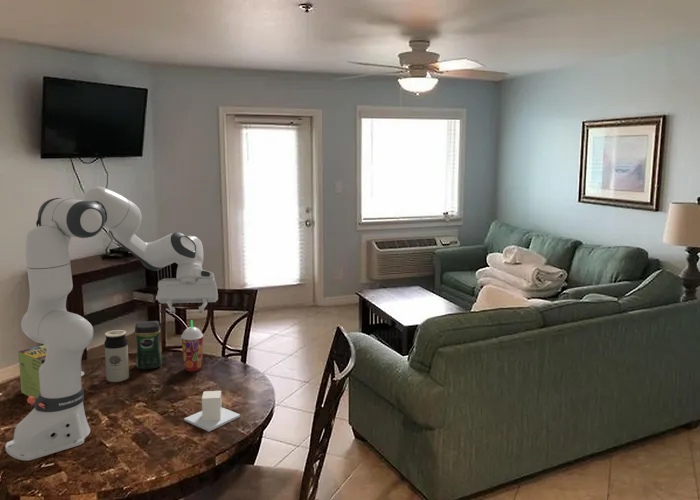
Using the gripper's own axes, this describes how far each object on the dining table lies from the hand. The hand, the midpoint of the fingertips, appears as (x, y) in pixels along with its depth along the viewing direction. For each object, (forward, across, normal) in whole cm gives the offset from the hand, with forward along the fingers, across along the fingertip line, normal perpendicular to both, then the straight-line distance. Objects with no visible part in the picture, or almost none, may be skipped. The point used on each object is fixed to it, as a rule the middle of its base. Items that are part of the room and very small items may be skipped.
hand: (186, 312), depth 196 cm
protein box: (+14, -50, +30) cm, 60 cm away
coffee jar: (-2, -20, +47) cm, 51 cm away
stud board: (+33, +9, +11) cm, 36 cm away
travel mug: (+6, -29, +38) cm, 48 cm away
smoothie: (+1, -2, +43) cm, 43 cm away
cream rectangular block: (+33, +9, +10) cm, 36 cm away
